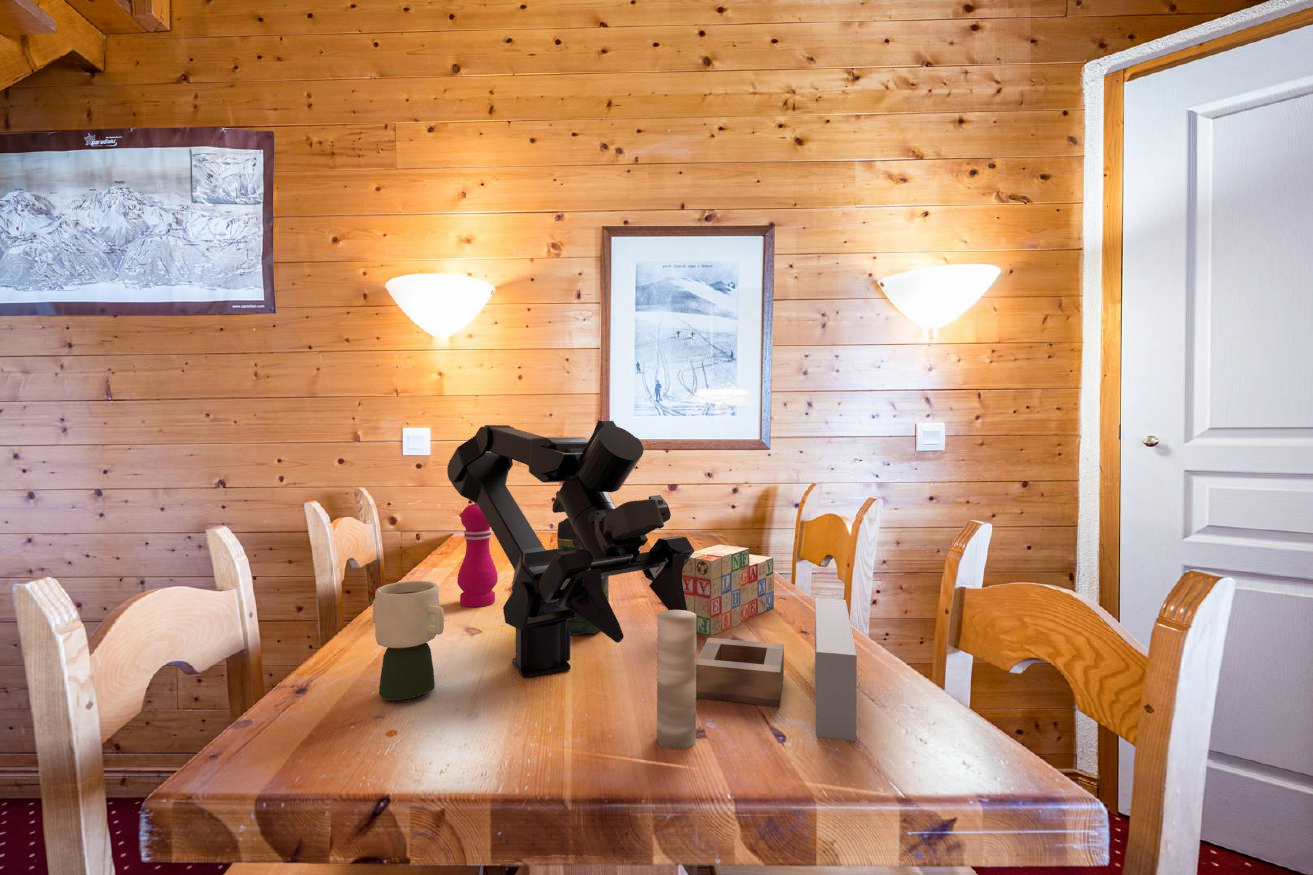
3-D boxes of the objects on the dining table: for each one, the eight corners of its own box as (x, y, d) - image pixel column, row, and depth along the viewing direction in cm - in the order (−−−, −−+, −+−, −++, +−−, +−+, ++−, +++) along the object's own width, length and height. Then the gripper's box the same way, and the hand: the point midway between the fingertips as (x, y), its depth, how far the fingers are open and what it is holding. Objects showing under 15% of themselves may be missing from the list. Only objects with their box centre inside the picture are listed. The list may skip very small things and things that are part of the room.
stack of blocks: (744, 602, 118) (744, 537, 118) (774, 607, 114) (774, 540, 114) (678, 630, 101) (678, 554, 101) (711, 637, 97) (711, 559, 97)
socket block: (694, 697, 74) (694, 664, 74) (707, 667, 84) (708, 637, 84) (779, 706, 72) (780, 672, 72) (783, 674, 82) (783, 644, 82)
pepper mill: (482, 595, 121) (482, 492, 121) (505, 602, 117) (506, 495, 117) (449, 603, 116) (449, 495, 116) (472, 610, 111) (472, 498, 111)
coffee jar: (598, 638, 97) (598, 518, 96) (549, 634, 98) (550, 516, 98) (614, 619, 106) (615, 510, 106) (570, 616, 108) (570, 509, 107)
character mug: (463, 691, 76) (463, 585, 76) (419, 715, 70) (420, 599, 70) (396, 676, 81) (396, 576, 81) (349, 698, 74) (350, 589, 74)
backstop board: (815, 737, 65) (816, 651, 65) (815, 662, 87) (815, 597, 87) (856, 742, 64) (856, 655, 64) (845, 665, 86) (845, 599, 86)
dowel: (667, 754, 62) (668, 623, 62) (650, 736, 65) (650, 612, 65) (702, 745, 63) (703, 618, 63) (683, 728, 67) (684, 608, 67)
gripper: (553, 476, 65) (617, 604, 57) (683, 469, 77) (752, 574, 69) (516, 542, 71) (569, 666, 62) (642, 526, 83) (701, 629, 75)
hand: (654, 631), depth 67 cm, fingers open, 9 cm apart
